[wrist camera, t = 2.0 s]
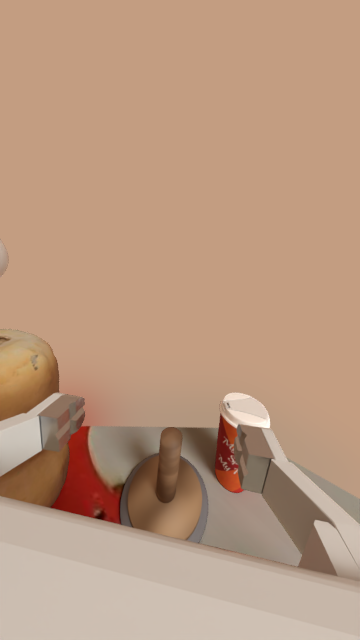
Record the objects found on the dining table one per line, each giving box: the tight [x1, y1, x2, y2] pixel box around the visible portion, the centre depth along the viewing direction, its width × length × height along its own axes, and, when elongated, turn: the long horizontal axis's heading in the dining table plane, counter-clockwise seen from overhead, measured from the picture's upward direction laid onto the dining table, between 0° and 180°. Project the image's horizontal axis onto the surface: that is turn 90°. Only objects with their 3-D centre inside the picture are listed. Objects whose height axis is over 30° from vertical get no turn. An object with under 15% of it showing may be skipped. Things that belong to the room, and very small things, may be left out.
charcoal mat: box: [120, 453, 208, 543], centre depth 26 cm, size 13×13×1 cm
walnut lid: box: [128, 427, 202, 540], centre depth 25 cm, size 11×11×11 cm
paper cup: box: [215, 393, 270, 493], centre depth 28 cm, size 8×8×14 cm
